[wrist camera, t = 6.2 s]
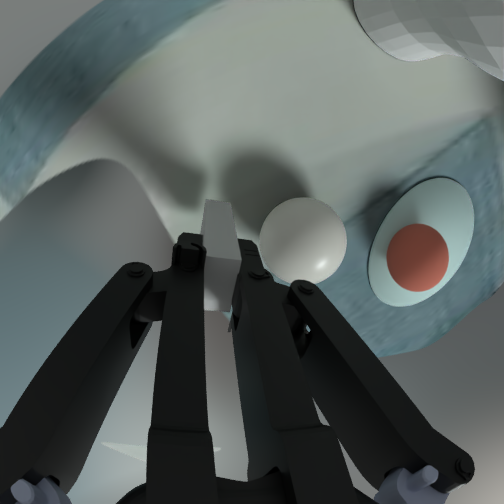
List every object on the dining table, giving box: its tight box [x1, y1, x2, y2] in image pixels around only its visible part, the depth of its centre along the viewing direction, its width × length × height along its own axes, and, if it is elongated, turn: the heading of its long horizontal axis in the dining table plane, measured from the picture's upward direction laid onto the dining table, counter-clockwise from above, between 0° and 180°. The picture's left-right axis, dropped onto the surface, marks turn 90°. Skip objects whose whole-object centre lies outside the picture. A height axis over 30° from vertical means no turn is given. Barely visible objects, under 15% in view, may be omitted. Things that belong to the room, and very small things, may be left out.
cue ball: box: [260, 197, 347, 284], centre depth 18 cm, size 6×6×6 cm
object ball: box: [386, 224, 449, 292], centre depth 20 cm, size 6×6×6 cm
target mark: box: [368, 178, 474, 306], centre depth 23 cm, size 14×14×1 cm
